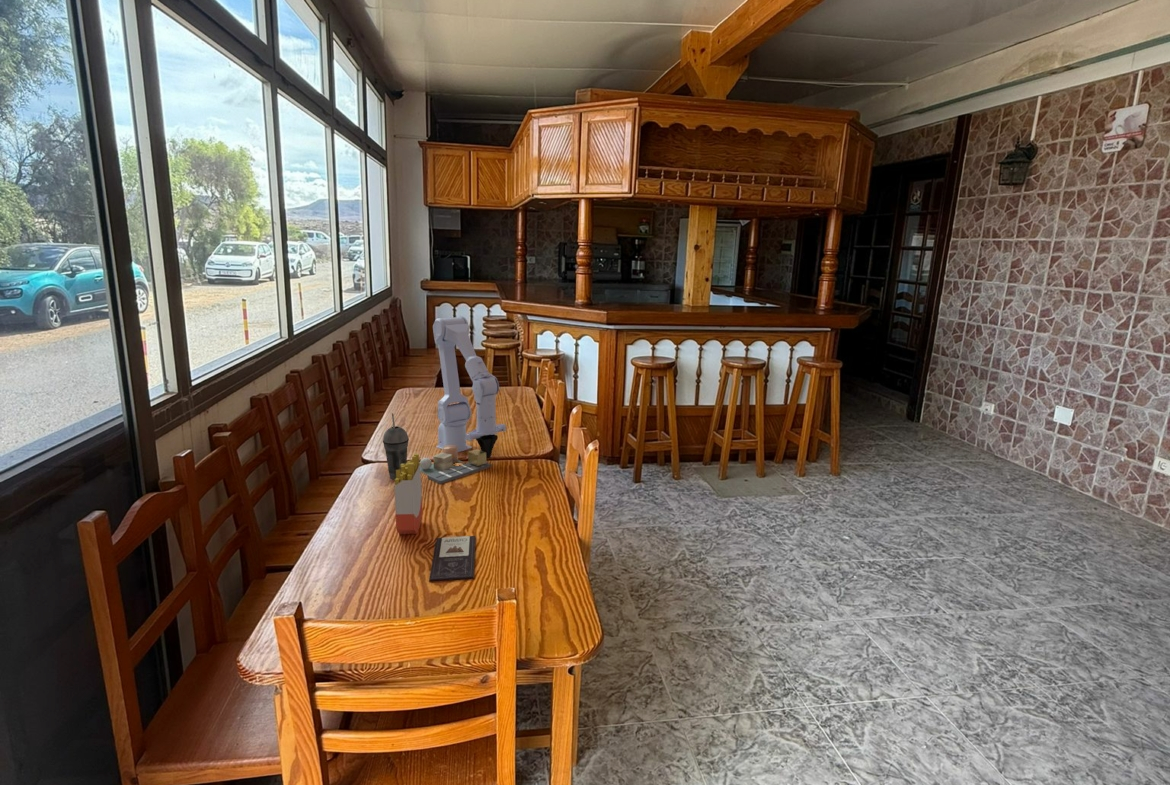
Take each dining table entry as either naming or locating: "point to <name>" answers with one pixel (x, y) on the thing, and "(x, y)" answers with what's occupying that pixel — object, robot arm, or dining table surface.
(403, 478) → the french fries container
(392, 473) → the beverage cup
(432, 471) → the slate mat
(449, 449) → the peach domed cylinder
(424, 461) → the grey ball
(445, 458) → the birch block
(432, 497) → the dining table surface
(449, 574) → the chocolate bar
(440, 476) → the board
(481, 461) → the tan cardboard cube
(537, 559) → the dining table surface
